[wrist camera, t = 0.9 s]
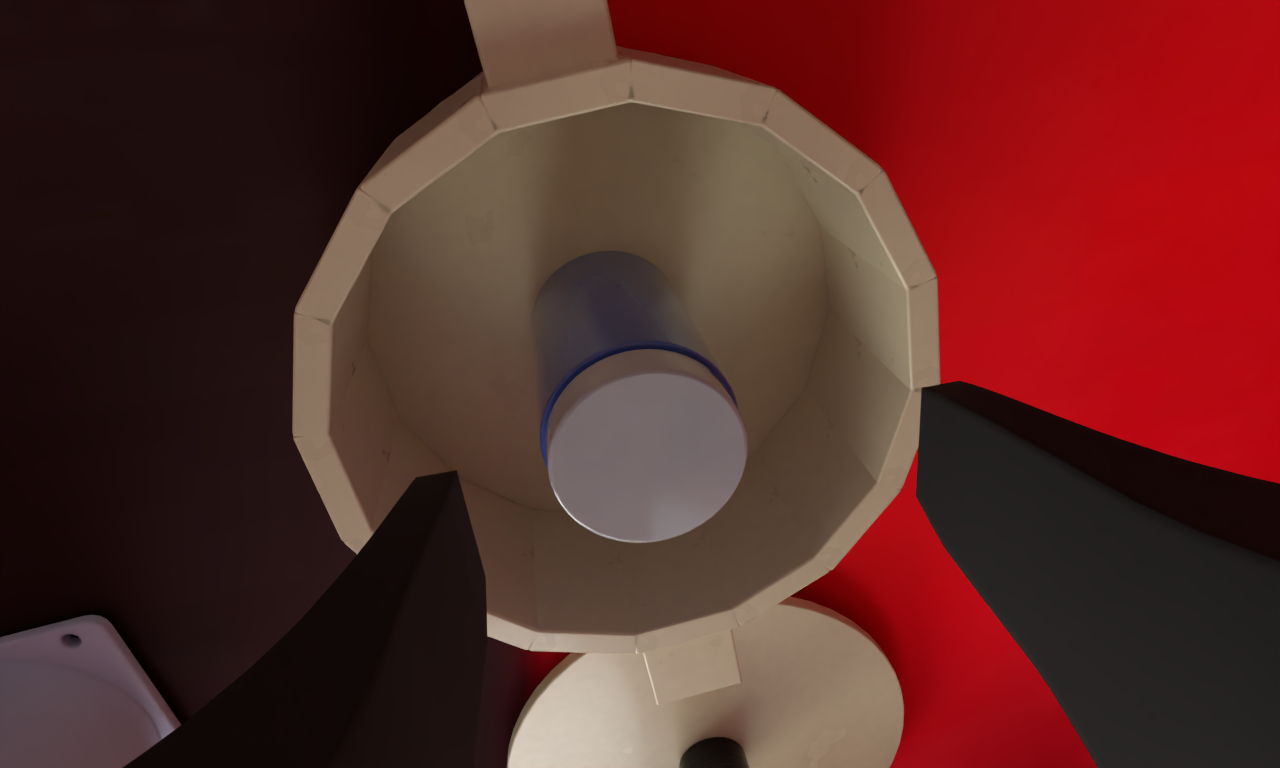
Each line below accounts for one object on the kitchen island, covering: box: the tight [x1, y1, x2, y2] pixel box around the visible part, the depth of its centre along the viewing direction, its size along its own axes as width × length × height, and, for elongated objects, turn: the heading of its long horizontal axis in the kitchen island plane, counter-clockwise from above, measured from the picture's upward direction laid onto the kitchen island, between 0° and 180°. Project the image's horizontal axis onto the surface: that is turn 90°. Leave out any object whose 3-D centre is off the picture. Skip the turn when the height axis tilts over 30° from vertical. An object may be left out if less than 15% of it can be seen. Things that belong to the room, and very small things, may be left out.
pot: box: [292, 0, 940, 705], centre depth 19 cm, size 13×19×6 cm
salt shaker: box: [531, 251, 748, 543], centre depth 18 cm, size 4×4×7 cm
